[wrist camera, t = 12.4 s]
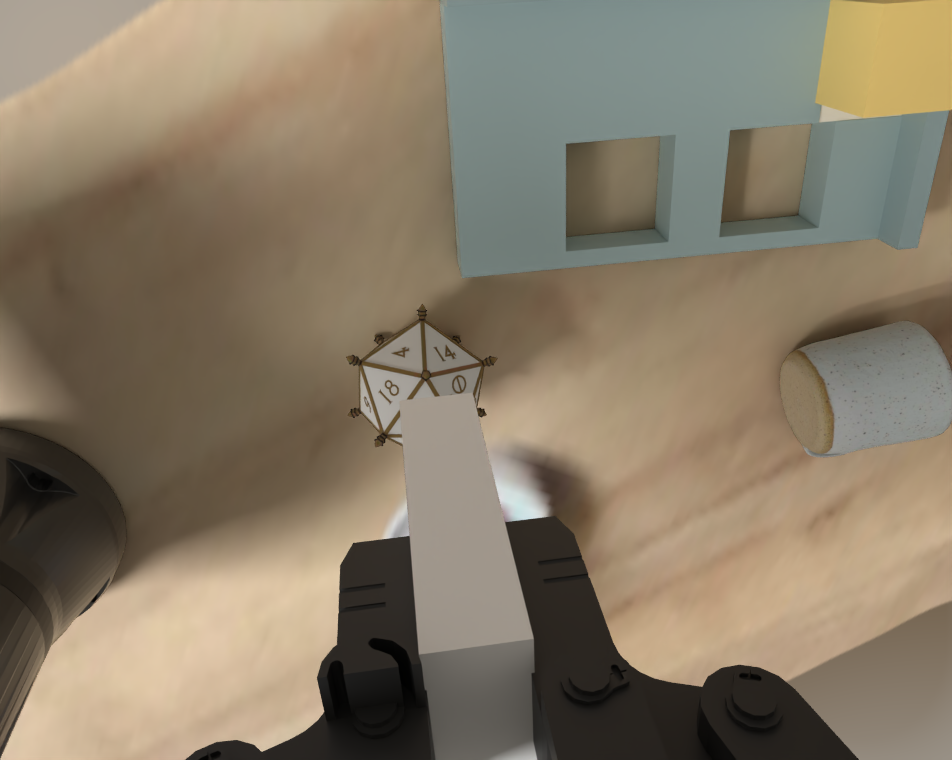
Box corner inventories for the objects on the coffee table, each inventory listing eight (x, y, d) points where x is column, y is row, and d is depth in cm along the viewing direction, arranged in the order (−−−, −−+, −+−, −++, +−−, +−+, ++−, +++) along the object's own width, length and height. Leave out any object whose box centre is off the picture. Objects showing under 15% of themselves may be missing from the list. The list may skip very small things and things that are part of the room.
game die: (402, 306, 51) (410, 260, 41) (507, 382, 51) (539, 353, 41) (319, 416, 49) (307, 394, 39) (428, 493, 49) (443, 492, 40)
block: (815, 102, 42) (863, 117, 38) (830, -1, 39) (883, 3, 35) (902, 95, 42) (958, 109, 38) (922, -8, 40) (985, -4, 36)
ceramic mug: (769, 331, 51) (829, 390, 44) (890, 300, 51) (968, 354, 44) (774, 457, 56) (828, 527, 50) (883, 429, 56) (952, 495, 50)
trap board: (457, 263, 46) (465, 291, 42) (437, -20, 39) (445, -18, 35) (872, 224, 48) (917, 247, 44) (927, -52, 41) (987, -53, 37)
